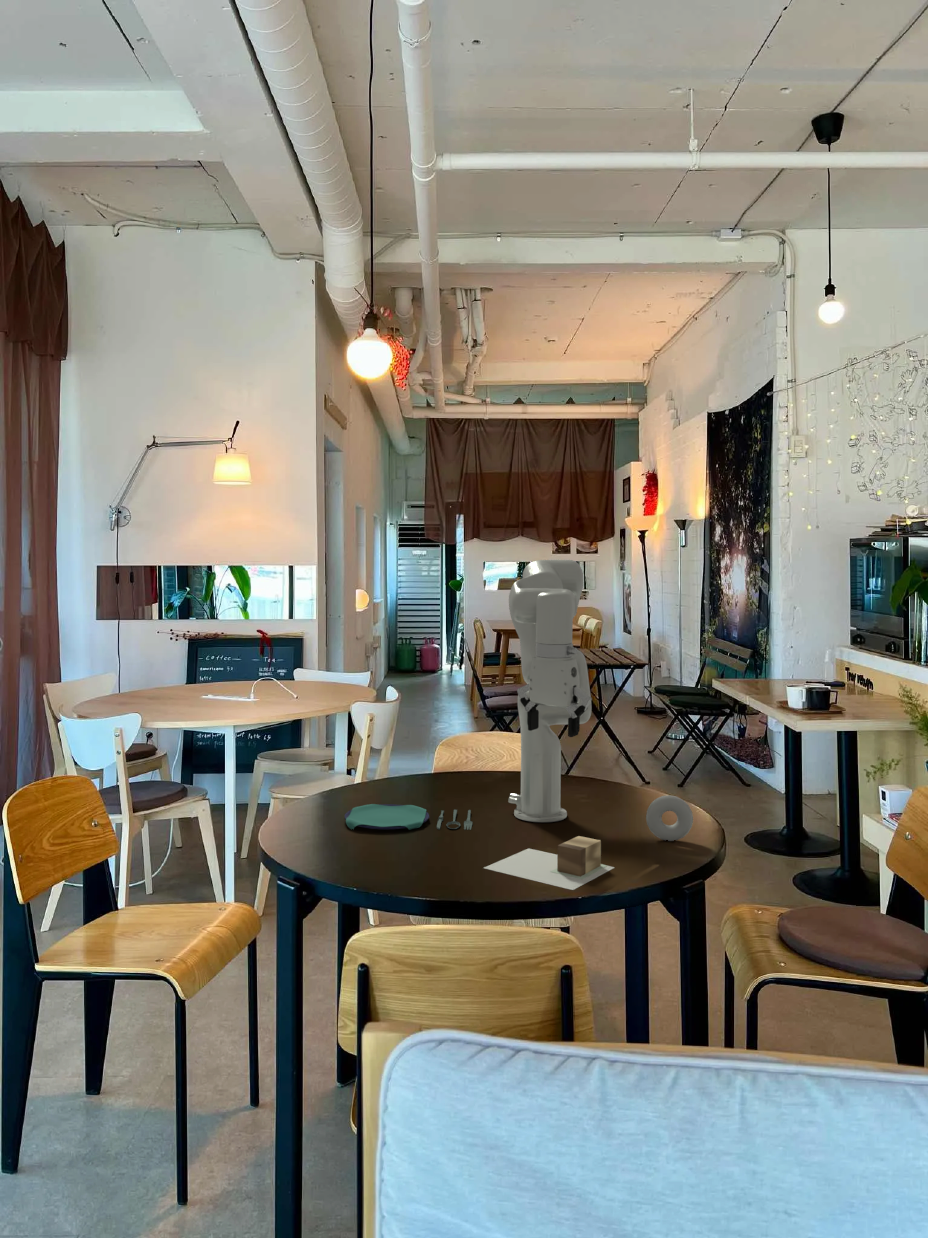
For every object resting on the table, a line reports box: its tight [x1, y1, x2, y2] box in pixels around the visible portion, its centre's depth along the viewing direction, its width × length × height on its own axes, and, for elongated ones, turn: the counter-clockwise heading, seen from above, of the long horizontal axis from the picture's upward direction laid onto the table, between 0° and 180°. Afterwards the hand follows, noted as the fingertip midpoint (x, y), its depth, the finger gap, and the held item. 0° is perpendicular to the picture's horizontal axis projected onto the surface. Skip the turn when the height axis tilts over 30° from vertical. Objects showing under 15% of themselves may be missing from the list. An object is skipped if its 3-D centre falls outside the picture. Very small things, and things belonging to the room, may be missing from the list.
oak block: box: [556, 835, 602, 876], centre depth 171 cm, size 8×5×5 cm, turn 143°
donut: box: [645, 794, 694, 842], centre depth 191 cm, size 10×4×10 cm, turn 80°
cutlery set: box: [344, 803, 473, 831], centre depth 206 cm, size 20×30×2 cm, turn 88°
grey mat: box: [483, 847, 615, 891], centre depth 171 cm, size 20×16×1 cm
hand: (552, 732), depth 184 cm, fingers open, 9 cm apart
